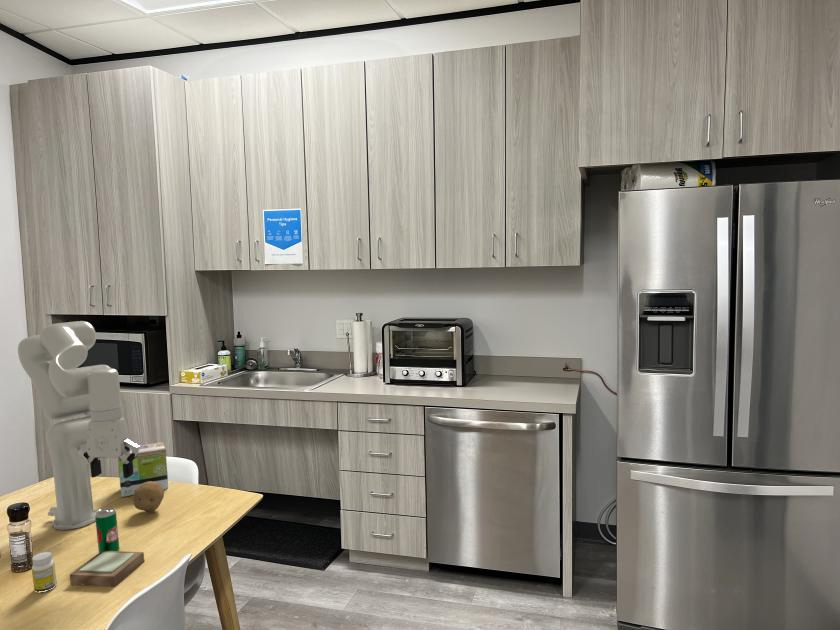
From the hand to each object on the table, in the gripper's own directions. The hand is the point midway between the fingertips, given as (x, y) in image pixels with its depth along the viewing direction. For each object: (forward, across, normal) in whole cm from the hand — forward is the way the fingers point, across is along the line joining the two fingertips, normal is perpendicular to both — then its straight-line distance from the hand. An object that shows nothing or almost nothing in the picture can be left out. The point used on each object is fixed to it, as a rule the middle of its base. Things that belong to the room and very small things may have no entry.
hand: (112, 476), depth 163 cm
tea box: (+21, -21, +42) cm, 52 cm away
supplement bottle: (+21, -6, -20) cm, 30 cm away
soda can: (+21, -2, -2) cm, 21 cm away
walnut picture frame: (+21, +5, -12) cm, 25 cm away
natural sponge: (+21, -7, +23) cm, 32 cm away
